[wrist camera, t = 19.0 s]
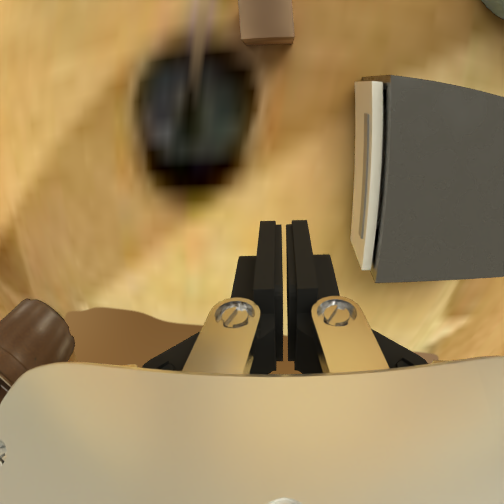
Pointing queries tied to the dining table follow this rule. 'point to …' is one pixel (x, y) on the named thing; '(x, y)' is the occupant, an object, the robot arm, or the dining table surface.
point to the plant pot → (31, 341)
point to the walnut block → (266, 22)
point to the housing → (440, 183)
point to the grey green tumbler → (495, 7)
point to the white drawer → (368, 168)
